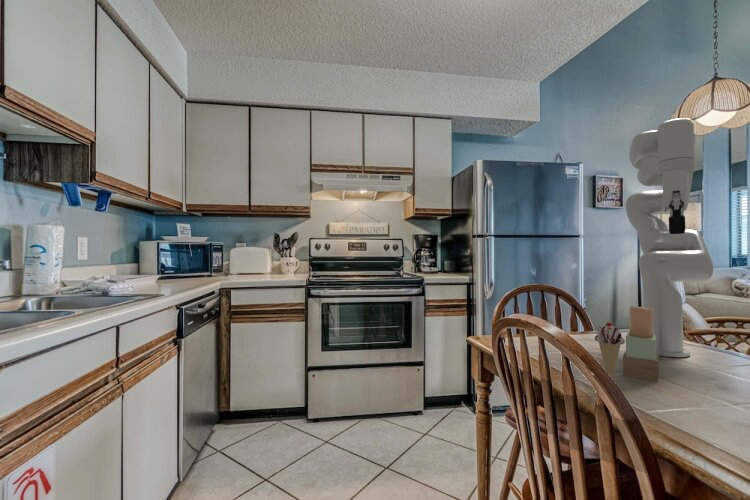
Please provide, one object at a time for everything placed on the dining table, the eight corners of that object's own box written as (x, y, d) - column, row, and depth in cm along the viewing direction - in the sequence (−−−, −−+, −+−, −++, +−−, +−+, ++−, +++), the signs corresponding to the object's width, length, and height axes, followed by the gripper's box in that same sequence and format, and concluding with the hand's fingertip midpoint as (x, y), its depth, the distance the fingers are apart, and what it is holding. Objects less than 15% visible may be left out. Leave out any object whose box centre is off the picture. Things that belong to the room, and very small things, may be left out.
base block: (625, 369, 98) (625, 350, 98) (659, 374, 94) (658, 354, 94) (623, 376, 93) (622, 356, 93) (658, 382, 88) (657, 361, 88)
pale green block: (627, 351, 97) (627, 332, 97) (656, 355, 94) (655, 335, 94) (626, 356, 92) (625, 336, 93) (656, 360, 89) (655, 339, 89)
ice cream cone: (630, 393, 81) (628, 324, 81) (601, 391, 82) (600, 324, 82) (618, 384, 86) (617, 320, 87) (591, 383, 87) (590, 319, 88)
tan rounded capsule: (628, 332, 97) (629, 305, 97) (652, 335, 94) (652, 307, 94) (629, 336, 93) (629, 308, 93) (654, 338, 90) (654, 310, 90)
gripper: (659, 175, 105) (660, 234, 105) (656, 164, 92) (657, 232, 92) (693, 171, 101) (695, 233, 100) (695, 159, 87) (697, 231, 87)
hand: (677, 233), depth 96 cm, fingers open, 9 cm apart
